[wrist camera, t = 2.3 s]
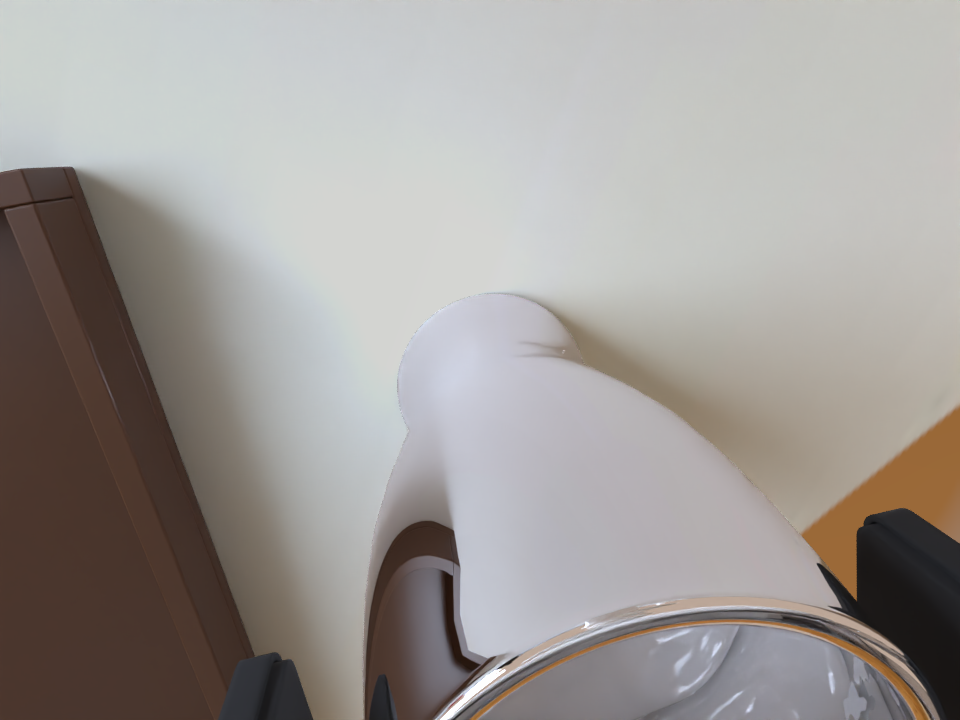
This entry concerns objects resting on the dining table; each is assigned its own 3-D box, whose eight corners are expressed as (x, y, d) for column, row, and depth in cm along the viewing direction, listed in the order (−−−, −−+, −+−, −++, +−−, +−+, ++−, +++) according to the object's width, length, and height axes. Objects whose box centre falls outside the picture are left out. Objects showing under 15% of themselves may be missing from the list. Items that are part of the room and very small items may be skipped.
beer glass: (539, 503, 23) (770, 1091, 8) (351, 439, 21) (247, 1026, 7) (630, 326, 21) (1104, 686, 7) (433, 242, 19) (517, 483, 5)
